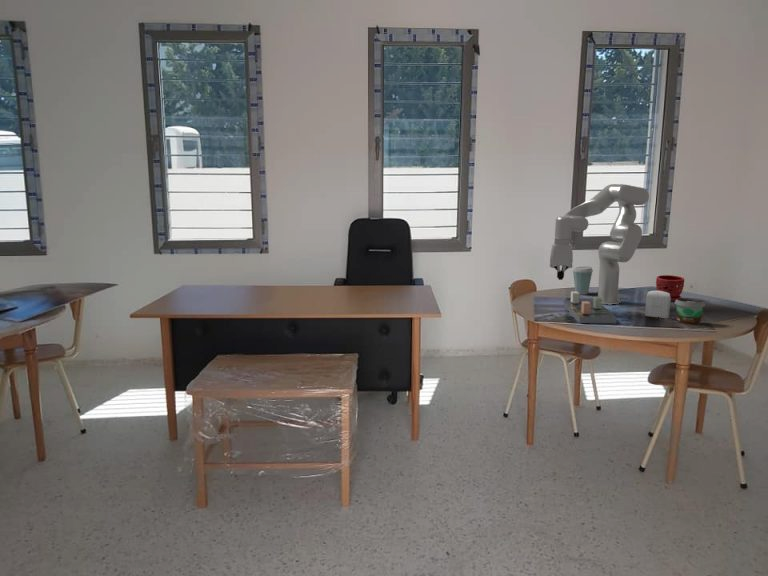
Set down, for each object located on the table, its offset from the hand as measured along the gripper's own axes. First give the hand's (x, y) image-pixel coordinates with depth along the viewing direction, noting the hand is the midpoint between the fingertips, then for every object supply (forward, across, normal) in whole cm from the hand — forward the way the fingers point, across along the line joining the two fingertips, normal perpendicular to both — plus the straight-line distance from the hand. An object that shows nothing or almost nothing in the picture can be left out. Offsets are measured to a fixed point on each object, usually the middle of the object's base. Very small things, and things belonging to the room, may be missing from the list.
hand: (560, 279), depth 281 cm
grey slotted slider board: (+15, -12, +11) cm, 22 cm away
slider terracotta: (+12, -8, +22) cm, 26 cm away
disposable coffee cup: (+14, -20, -37) cm, 45 cm away
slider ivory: (+12, -8, 0) cm, 14 cm away
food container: (+15, -52, +26) cm, 60 cm away
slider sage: (+12, -16, +11) cm, 22 cm away
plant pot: (+14, -61, -22) cm, 66 cm away
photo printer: (+15, -42, +15) cm, 47 cm away
